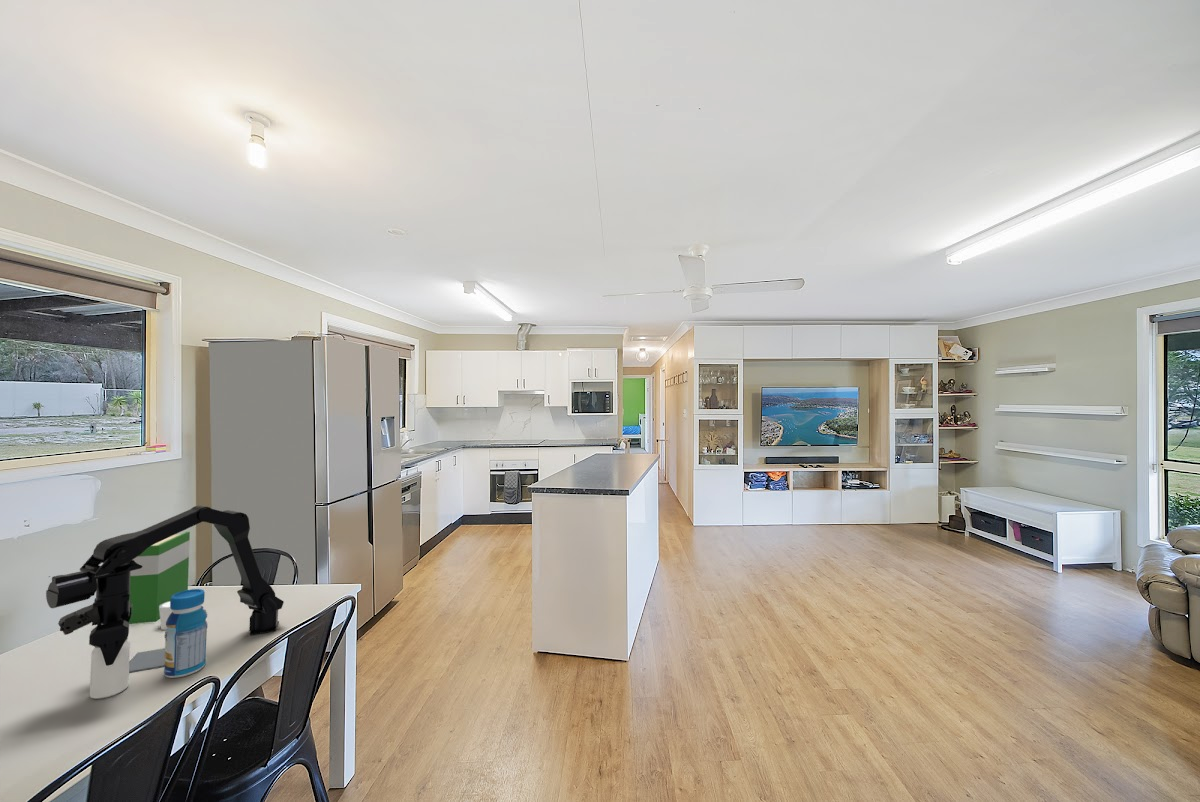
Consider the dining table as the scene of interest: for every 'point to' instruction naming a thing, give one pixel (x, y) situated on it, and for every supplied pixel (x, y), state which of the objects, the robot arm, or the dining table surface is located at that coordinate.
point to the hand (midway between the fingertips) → (111, 656)
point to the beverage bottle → (185, 634)
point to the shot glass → (164, 614)
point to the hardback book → (159, 577)
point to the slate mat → (147, 660)
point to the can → (109, 673)
